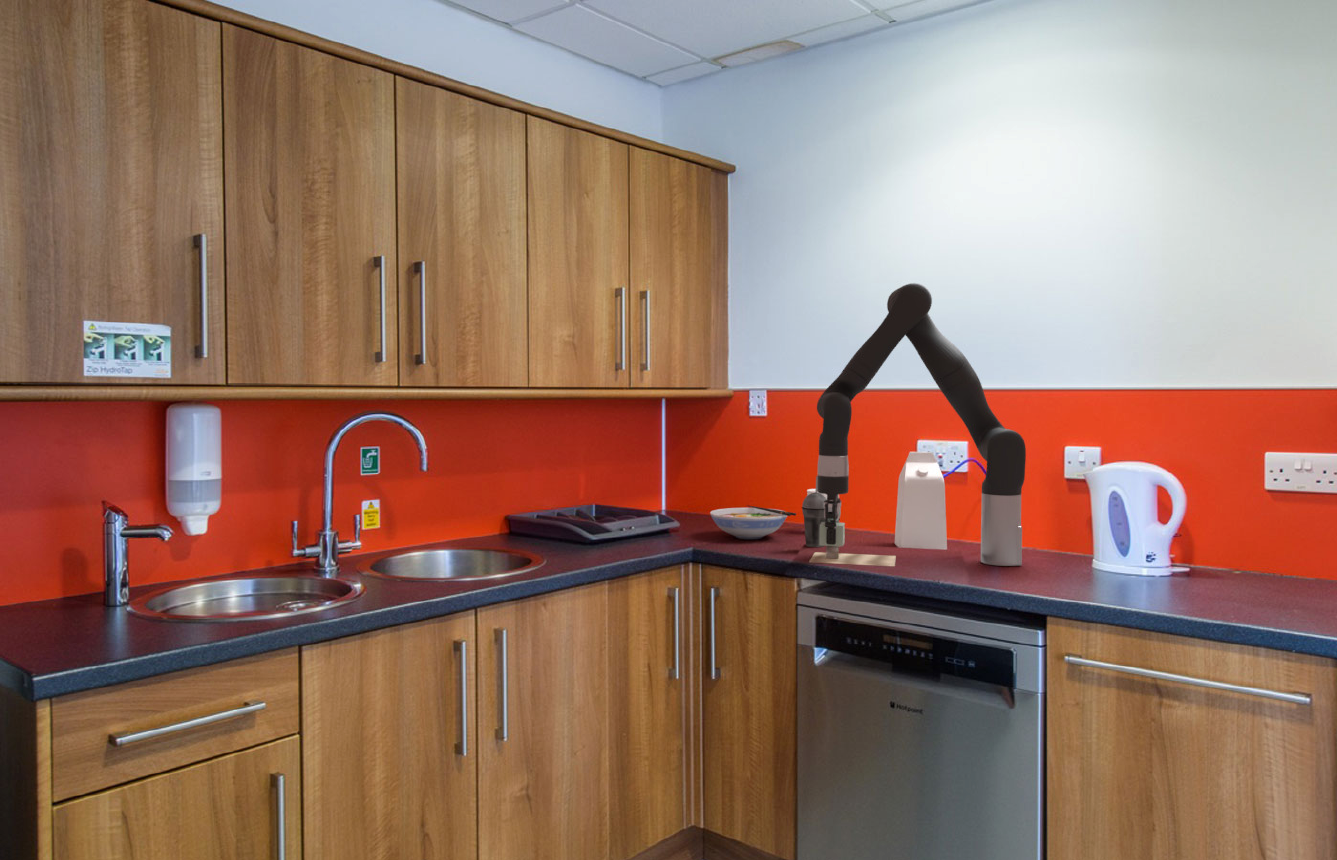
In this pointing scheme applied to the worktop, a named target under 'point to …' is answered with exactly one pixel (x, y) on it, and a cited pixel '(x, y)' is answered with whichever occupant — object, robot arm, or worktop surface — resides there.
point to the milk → (921, 504)
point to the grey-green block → (839, 535)
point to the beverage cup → (813, 517)
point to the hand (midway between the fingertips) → (832, 542)
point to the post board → (851, 558)
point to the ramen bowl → (749, 521)
